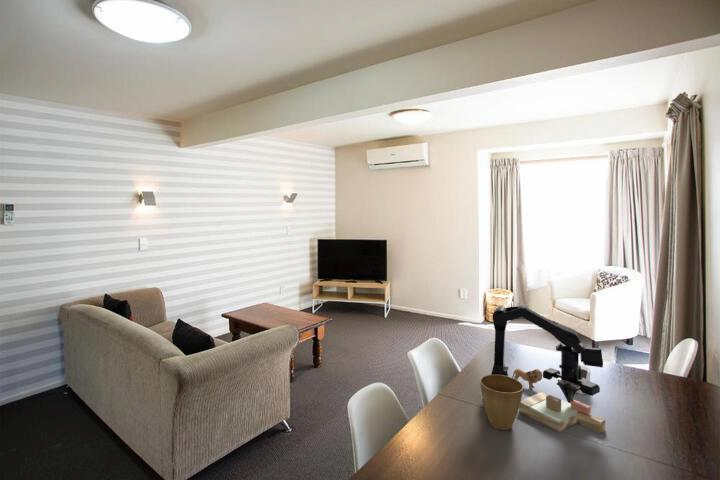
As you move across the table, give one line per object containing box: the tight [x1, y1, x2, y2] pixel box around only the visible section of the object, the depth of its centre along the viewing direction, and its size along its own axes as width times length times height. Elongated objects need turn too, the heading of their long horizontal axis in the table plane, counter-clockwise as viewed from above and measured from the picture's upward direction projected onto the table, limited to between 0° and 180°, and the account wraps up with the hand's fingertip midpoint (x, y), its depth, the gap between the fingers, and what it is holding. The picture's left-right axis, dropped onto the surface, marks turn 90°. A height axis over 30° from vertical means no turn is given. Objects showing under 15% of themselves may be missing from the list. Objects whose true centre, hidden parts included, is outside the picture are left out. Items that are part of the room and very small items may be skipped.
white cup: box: [576, 364, 591, 395], centre depth 156 cm, size 8×8×10 cm
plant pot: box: [479, 374, 524, 431], centre depth 132 cm, size 15×15×16 cm
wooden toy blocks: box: [518, 391, 606, 434], centre depth 133 cm, size 15×24×4 cm, turn 30°
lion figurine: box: [512, 368, 543, 391], centre depth 162 cm, size 15×5×9 cm, turn 45°
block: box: [570, 399, 592, 414], centre depth 132 cm, size 2×6×2 cm, turn 30°
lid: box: [530, 394, 579, 423], centre depth 135 cm, size 15×11×6 cm
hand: (569, 402), depth 136 cm, fingers closed
